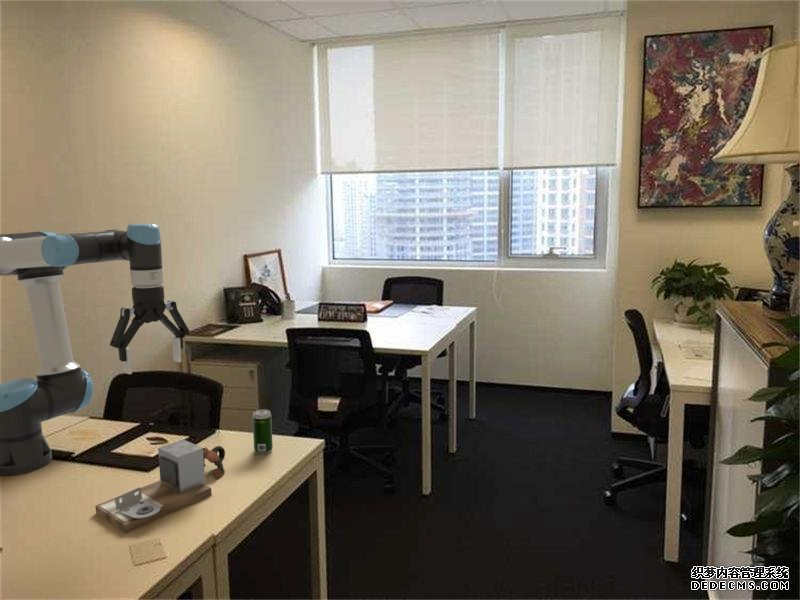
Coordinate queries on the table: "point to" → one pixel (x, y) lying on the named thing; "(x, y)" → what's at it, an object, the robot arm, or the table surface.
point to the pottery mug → (215, 459)
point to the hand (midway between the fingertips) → (153, 367)
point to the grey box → (181, 466)
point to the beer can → (262, 431)
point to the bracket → (135, 505)
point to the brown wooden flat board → (152, 494)
